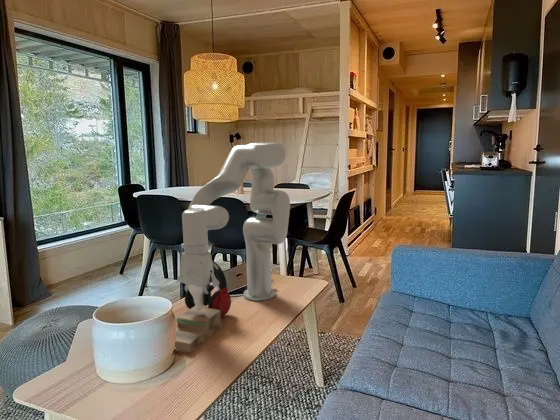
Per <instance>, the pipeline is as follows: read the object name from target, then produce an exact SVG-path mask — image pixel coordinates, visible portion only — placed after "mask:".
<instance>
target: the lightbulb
mask: <svg viewBox="0 0 560 420" xmlns="http://www.w3.org/2000/svg"><path fill="white" fill-rule="evenodd" d="M207 288H208V287H207ZM188 289H189V292H190V293H191V295H192V296H193V299H194V303H195V308H196V309H198V310H201V309H202V308H203V307H204V305H203V302H204V300H203V294H204V293H205V292H204V289H203V286H197V285H188Z"/></svg>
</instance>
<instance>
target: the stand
mask: <svg viewBox="0 0 560 420" xmlns="http://www.w3.org/2000/svg"><path fill="white" fill-rule="evenodd" d="M176 323H177V324H176V325H177V326H176V327H175V328H176V342H175V347H176V349H178V350H180V351H179V352H182V351H183V353H187V354H191V353H193V352H194V351H195V350H196V349H197V348H198V347H200V346H201V345H202V344H203V343H205V341H207V340H208V339H210V337H212V336H213V335H214V334H216V332H218V331H219V330H220V329H221V328H222V318H221V310H217V309H211V308H208V307H206V306H205V307H204V306H203V308H202V309H201V310H198V309H196V308H195V306H194V307H193V308H191V309H188V310H186V311H185V312H183V313H182V314H181V315H179V316H178V317H177V318H176Z"/></svg>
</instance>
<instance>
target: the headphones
mask: <svg viewBox="0 0 560 420" xmlns="http://www.w3.org/2000/svg"><path fill="white" fill-rule="evenodd" d="M212 263H213V270H214V276H215V277H216V279H217V280H218V281H219V285H218V288H219V289H218V290H216V291H215V292H214V293H213V294H211V303H210V304H208V305H207V308H211V309H217V310H221V319H222V318H224V317H225V316H226V315H227V314H228V312H229V311H230V309H231V306H232V298H231V294H230V293H229V292H228V286H227V285H228V284H227V283H228V282H227V279H226V275H225V273H224V271H223V269H222V268H221V266H220V265H219V264H218V263H217V262H215V260H213V259H212ZM184 304H185V306H186V308H187V309H188V310H190V309H191V308H193V307H194V306H195V303H194V301H192V302H191V303H187V293H186V292H185V294H184ZM203 306H204V302H203Z"/></svg>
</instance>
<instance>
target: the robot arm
mask: <svg viewBox="0 0 560 420" xmlns="http://www.w3.org/2000/svg"><path fill="white" fill-rule="evenodd" d="M286 155H287V154H286V149H285V147H284V145H282V144H281V143H280V142H251V143H248V144H238V145H235V146H234V147H232V149H230V152H229V153H228V156H227V157H226V159H225V161H224V162H223V165H222V166H221V168H220V170H219V173H218V174H217V176H216V177H214V178H213V179H211V180H210V181H208V182H207V183H206V184H205V185H204V186H202V187H201V188H200V189H199V190H198V191H197V192H196V193H195V195H194V196H193V198H192V200H191V202H190V203H189V206H188V207H187V209H186V210H184V211H182V213H181V223H182V236H183V237H182V238H183V243H181V245H180V247H181V248H182V249H183V252H181V257H180V265H179V276H178V277H177V281H178V282H179V283H180V284H181V286H182V287H183V288H184V291H185V294H186V293H187V303H191V302H192V301H194V299H193V296H192V295H191V293H190V292H189V289H188V285H197V286H203V289H204V292H205V293H204V294H203V300H204V305H203V307H204V306H205V307H208V304H210V303H211V296H212V292H213V290H214V289H215V288H217V286H219V281H218V280H217V279H216V277H215V275H214V270H213V263H212V260H213V259H212V254H211V252H210V251H209V240H208V239H209V236H208V231H211V230H220V229H222V228H224V227H226V225H228V222H229V220H230V214H229V212H228V210H227V209H226V208H224V207H223V206H220V205H212V203H213V202H214V201H215V200H217V199H219V198H221V197H224V196H226V195H230V194H232V193H235V192H236V191H238V190H239V189H240V187H241V185H242V183H243V181H244V179H245V177H246V175H247V173H248V171H250V172H251V177H252V179H251V190H250V199H249V207H250V210H251V211H252V212H253V213H256V214H260V215H269V216H270V215H271V216H272V217H270V218H269V217H262V216H253V217H252V216H251V217H248V218H247V219H245V220H244V223H243V225H242V234H243V239H244V242H245V251H246V252H245V254H246V255H245V256H246V287H247V289H245V290H244V291H243V297H244V298H245V299H246V300H249V301H257V302H259V301H266V300H271V299H273V298H274V297H275V296H276V290H274V289H273V288H272V284H273V283H274V279H272V261H271V259H272V256H271V255H272V254H271V249H270V246H269V244H271V245H281V244H283V243H284V242H285V240H286V238H287V235H288V231H289V230H288V228H289V223H290V222H289V220H290V219H289V218H290V213H291V212H290V211H291V201H290V196H289V194H288V193H287V192H286V191H284V190H279V189H274V186H275V184H274V183H275V176H274V173H273V171H272V168H274V167H275V168H276V167H279V166H281V165H282V164H283V163H284V161H286V160H285V159H286ZM211 283H212V284H211ZM207 287H208V288H207Z"/></svg>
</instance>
